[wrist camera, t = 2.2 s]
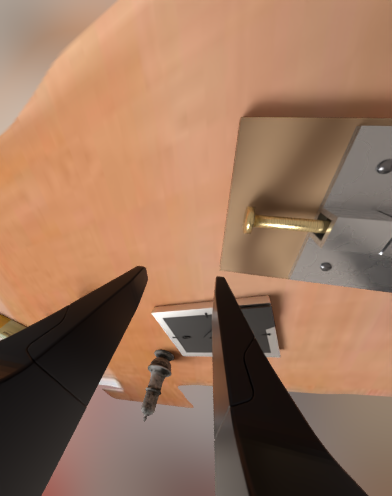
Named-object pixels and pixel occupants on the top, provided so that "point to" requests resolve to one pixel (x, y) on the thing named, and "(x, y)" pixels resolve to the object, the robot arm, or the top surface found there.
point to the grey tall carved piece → (156, 380)
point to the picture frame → (200, 325)
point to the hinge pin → (282, 223)
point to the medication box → (9, 327)
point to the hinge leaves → (354, 219)
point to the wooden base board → (281, 185)
